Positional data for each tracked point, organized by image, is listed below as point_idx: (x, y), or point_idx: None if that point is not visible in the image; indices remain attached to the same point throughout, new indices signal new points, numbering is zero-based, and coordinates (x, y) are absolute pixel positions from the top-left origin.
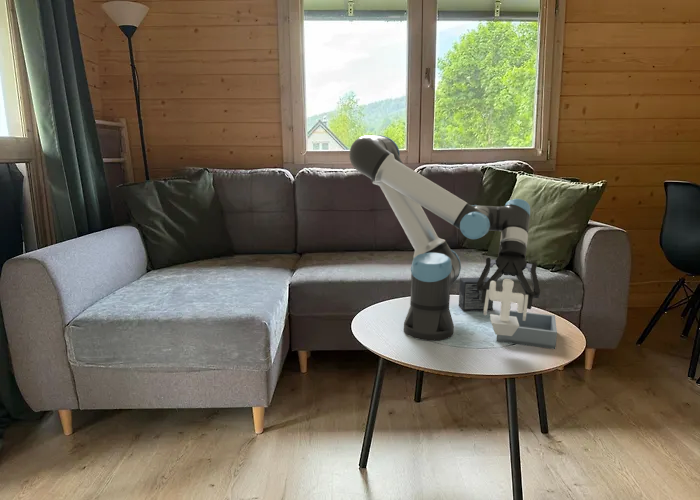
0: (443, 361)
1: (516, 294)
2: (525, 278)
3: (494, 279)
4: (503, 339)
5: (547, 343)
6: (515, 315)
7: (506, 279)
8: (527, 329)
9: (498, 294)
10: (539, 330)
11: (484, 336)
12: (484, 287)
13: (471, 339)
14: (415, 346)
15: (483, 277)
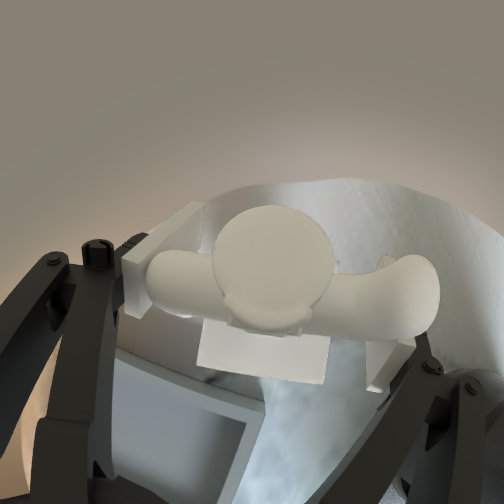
0: (436, 235)
1: (203, 261)
2: (56, 367)
3: (374, 429)
4: (241, 396)
5: None
6: None
7: (282, 317)
8: (155, 375)
9: (340, 273)
10: (116, 358)
11: (294, 439)
12: (435, 360)
13: (345, 409)
14: (492, 323)
15: (463, 443)
